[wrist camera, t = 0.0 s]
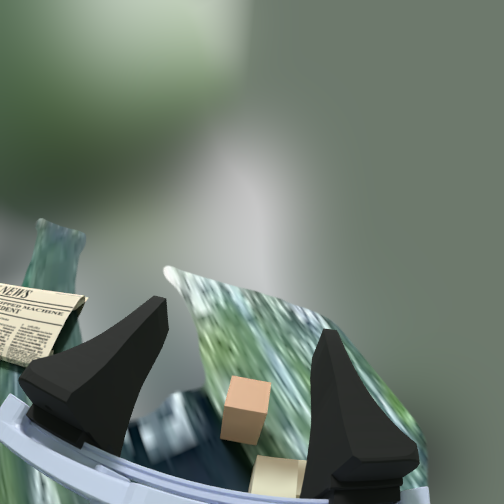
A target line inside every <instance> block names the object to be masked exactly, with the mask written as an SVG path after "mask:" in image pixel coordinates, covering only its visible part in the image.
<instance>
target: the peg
mask: <svg viewBox="0 0 504 504" xmlns="http://www.w3.org/2000/svg"><path fill="white" fill-rule="evenodd" d="M270 387H271V383H270V382H264V381H258V380H253V379H247V378H242V377H237V376H232V378H231V382H230V386H229V390H228V393H227V397H226V401H225V405H224V412H223V421H222V429H221V437H220V439H224V440H229V441H234V442H239V443H245V444H251V445H257V442H258V439H259V436H260V433H261V430H262V427H263V424H264V421H265V418H266V415H267V410H268V403H269V395H270Z"/></svg>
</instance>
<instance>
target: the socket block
mask: <svg viewBox="0 0 504 504" xmlns="http://www.w3.org/2000/svg"><path fill="white" fill-rule="evenodd" d="M306 462H307V461H305V460H293V459H284V458H275V457H268V456H261V455H257V458H256V460H255V463H254V465H253V468H252V474H251V480H250V485H249V491H248V493H251V494H258V495H266V496H275V497H286V498H299V497H300V493H301V488H302V484H303V479H304V473H305V468H306Z"/></svg>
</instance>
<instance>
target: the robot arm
mask: <svg viewBox="0 0 504 504" xmlns="http://www.w3.org/2000/svg"><path fill="white" fill-rule="evenodd" d="M168 331H169V326H168V316H167V302H166V298H162V297H158V296H153V297H152V298H150V299H149V300H148V301H146V302H145V303H144V304H143V305H141V306H140V307H139V308H137V309H136V310H135V311H133V312H132V313H131V314H129V315H128V316H127V317H125V318H124V319H123V320H121V321H120V322H119V323H117V324H115V325H114V326H113V327H111V328H109V329H108V330H106V331H105V332H103V333H102V334H100V335H98V336H96V337H95V338H93V339H91V340H89V341H87V342H85V343H82V344H80V345H78V346H76V347H73V348H71V349H69V350H66V351H63V352H60V353H57V354H54V355H51V356H47V357H43V358H39V359H34V360H32V361H31V362H30V363H29V365H28V366H27V367H26V369H25V370H24V372H23V373H22V374H21V376H20V377H19V379H18V381H19V384H20V386H21V388H22V389H23V391H24V392H25V393H26V395H27V396H28V397H29V399H30V400H31V401H32V403H33V404H32V406H31V407H29V406H28V405H27V404H25V403H24V402H23V401H21V400H20V399H18V398H17V397H15V396H14V395H12V394H9V395H8V397H7V398H6V400H5V401H4V403H3V404H2V406H1V407H0V442H1V443H2V444H4V445H5V446H6V447H7V448H8V449H9V450H11V451H12V452H13V453H14V454H16V455H17V456H18V457H20V458H21V459H23V460H24V461H25V462H27V463H28V464H30V465H31V466H32V467H34V468H35V469H37V470H38V471H40V472H41V473H43V474H44V475H46V476H47V477H49V478H51V479H52V480H54V481H55V482H57V483H59V484H60V485H62V486H64V487H65V488H67V489H69V490H71V491H72V492H74V493H76V494H78V495H80V496H82V497H83V498H85V499H87V500H89V501H90V503H89V504H208V503H212V504H430V498H429V487H427V486H426V487H421V488H414V489H408V490H404V491H401V492H400V486H402V484H403V478H402V477H404V476H406V475H407V474H409V473H410V472H412V471H413V470H414V469H416V468H417V467H418V465H419V464H420V462H419V454H418V449H417V445H416V443H415V442H414V441H413V440H411V439H410V438H409V437H408V436H407V435H405V434H404V433H403V432H402V431H401V430H400V429H399V428H398V427H397V426H396V425H395V424H394V423H393V422H392V421H391V420H390V419H389V418H388V417H387V415H386V414H385V413H384V412H383V411H382V410H381V408H380V407H379V406H378V405H377V403H376V402H375V401H374V399H373V398H372V396H371V395H370V393H369V392H368V390H367V389H366V387H365V386H364V384H363V382H362V381H361V379H360V377H359V376H358V374H357V372H356V370H355V368H354V366H353V364H352V362H351V360H350V358H349V356H348V354H347V352H346V350H345V348H344V345H343V343H342V341H341V338H340V336H339V334H338V332H337V330H331V329H323V331H322V334H321V337H320V339H319V342H318V344H317V347H316V349H315V352H314V354H313V357H312V364H311V376H310V384H311V431H310V440H309V448H308V455H307V462H306V468H305V473H304V479H303V484H302V488H301V493H300V497H299V498H286V497H275V496H266V495H258V494H251V493H245V492H239V491H233V490H227V489H222V488H217V487H213V486H208V485H204V484H200V483H196V482H192V481H188V480H184V479H181V478H177V477H174V476H170V475H167V474H164V473H161V472H158V471H154V470H151V469H149V468H146V467H143V466H140V465H137V464H135V463H132V462H129V461H127V460H124V459H122V458H120V454H121V450H122V446H123V442H124V438H125V434H126V431H127V427H128V424H129V420H130V417H131V414H132V411H133V408H134V405H135V403H136V400H137V397H138V395H139V392H140V389H141V387H142V385H143V383H144V381H145V379H146V377H147V375H148V373H149V372H150V370H151V368H152V366H153V364H154V362H155V360H156V358H157V357H158V355H159V353H160V351H161V349H162V347H163V344H164V341H165V339H166V336H167V333H168ZM123 476H124V477H123ZM125 477H126V478H125ZM127 478H129V479H131V480H134V481H137V482H139V483H142V484H145V485H148V486H151V487H154V488H157V489H160V490H163V491H166V492H163V491H160V490H157V489H154V488H151V487H148V486H145V485H142V484H138V483H131V481H130V480H129V479H127ZM167 492H169V493H167ZM170 493H173V494H176V495H173V494H170ZM177 495H180V496H183V497H180V496H177ZM184 497H187V498H184ZM188 498H191V499H188ZM192 499H195V500H192ZM196 500H199V501H196ZM200 501H203V502H200ZM204 502H207V503H204Z"/></svg>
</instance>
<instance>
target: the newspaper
mask: <svg viewBox="0 0 504 504" xmlns="http://www.w3.org/2000/svg"><path fill="white" fill-rule="evenodd" d="M87 299H88V297H85V296H84V295H76V294H68V293H60V292H53V291H46V290H39V289H32V288H26V287H19V286H14V285H8V284H2V283H0V360H3V361H7V362H10V363H13V364H16V365H20V366H23V367H27V366H28V365H29V363H30V362H31V361H32V360H34V359H39V358H43V357H47V356H51V355H53V351H54V350H51V349H52V347H53V345H54V343H55V341H56V339H57V337H58V335H59V333H60V331H61V329H62V327H63V325H64V323H65V321H66V319H67V317H68V316H69V314H70V313H71V311H72V310H76V311H77V315H78V317H79V315H80V313H81V311H82V309H83V307H84V304H85V302H86V301H87Z"/></svg>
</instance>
